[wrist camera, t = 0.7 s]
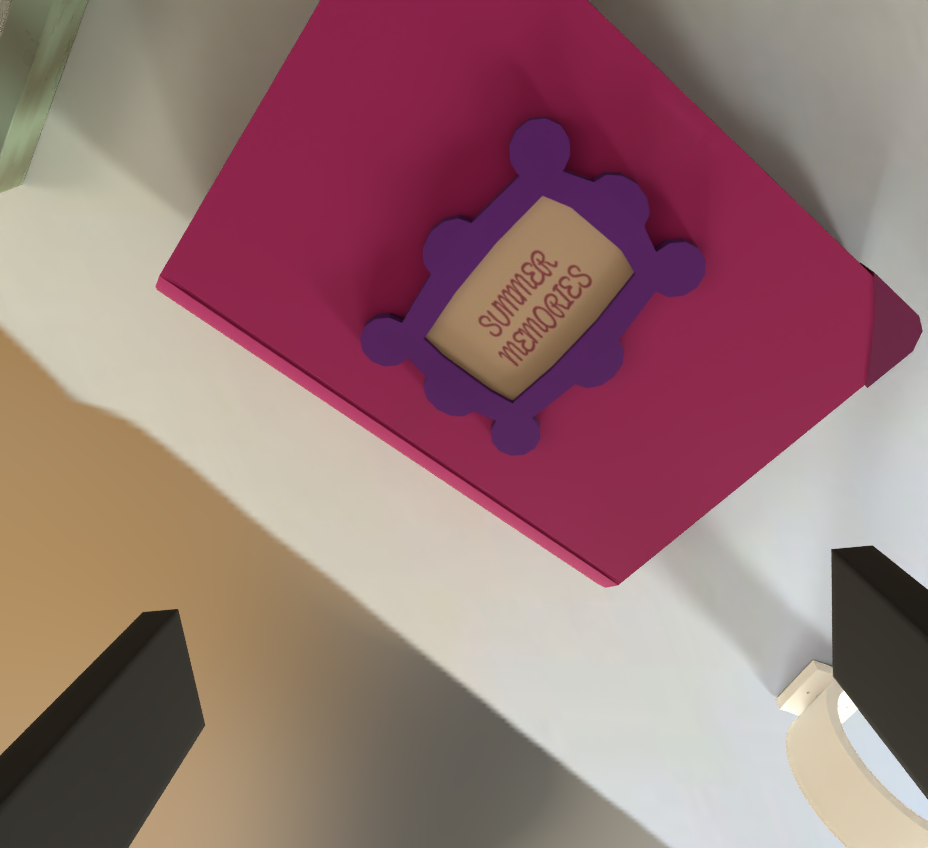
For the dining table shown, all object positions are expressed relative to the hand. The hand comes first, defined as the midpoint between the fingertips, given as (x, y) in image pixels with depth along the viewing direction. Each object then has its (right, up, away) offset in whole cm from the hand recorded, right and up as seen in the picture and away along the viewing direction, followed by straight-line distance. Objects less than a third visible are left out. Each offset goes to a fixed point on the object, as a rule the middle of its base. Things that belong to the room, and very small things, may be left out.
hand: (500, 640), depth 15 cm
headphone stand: (+25, -15, +38) cm, 48 cm away
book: (+3, +13, +23) cm, 27 cm away
